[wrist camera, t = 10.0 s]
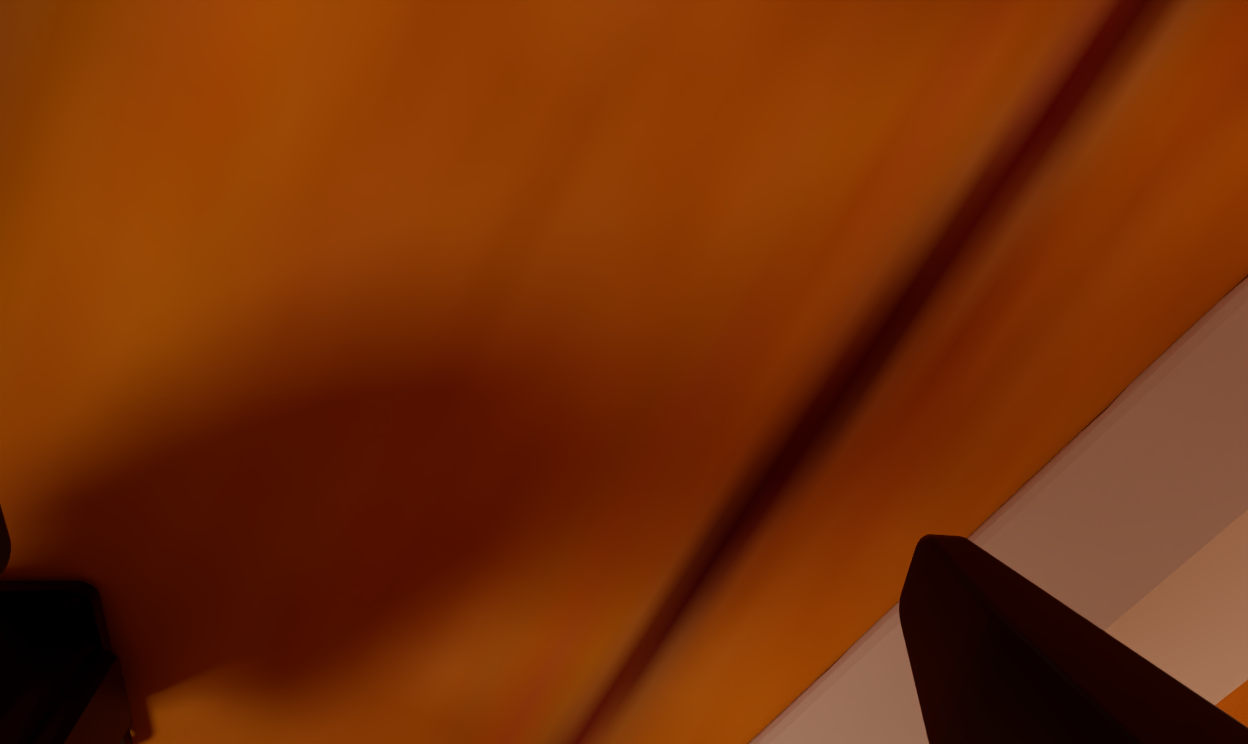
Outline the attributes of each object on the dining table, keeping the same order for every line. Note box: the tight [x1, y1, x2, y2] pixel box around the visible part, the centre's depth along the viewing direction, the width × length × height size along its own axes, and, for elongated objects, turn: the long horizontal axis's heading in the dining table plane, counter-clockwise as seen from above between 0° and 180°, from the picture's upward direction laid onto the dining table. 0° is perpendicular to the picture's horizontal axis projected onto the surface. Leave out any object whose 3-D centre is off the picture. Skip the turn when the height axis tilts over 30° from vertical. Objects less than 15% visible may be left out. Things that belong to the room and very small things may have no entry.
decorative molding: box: [748, 277, 1248, 744], centre depth 27 cm, size 34×5×10 cm
